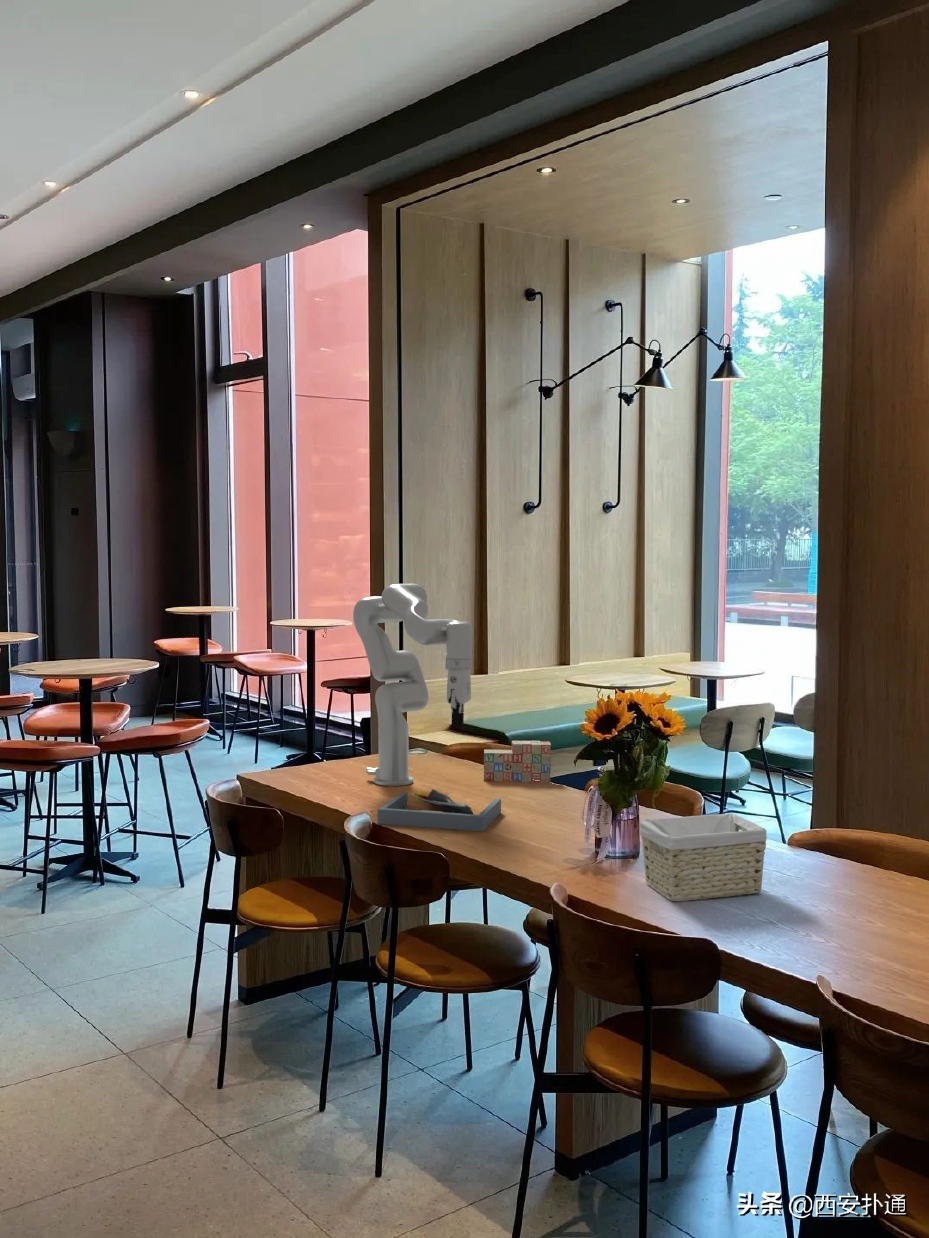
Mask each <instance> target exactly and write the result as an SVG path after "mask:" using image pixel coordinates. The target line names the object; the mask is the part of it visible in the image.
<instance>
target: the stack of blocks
mask: <svg viewBox="0 0 929 1238" xmlns="http://www.w3.org/2000/svg"><path fill="white" fill-rule="evenodd" d="M551 748H552V744H551V741H543V740H542V741H541V740H512V741H511V749H484V750H483V782H507V783H509V782H512V783H513V782H514V783H515V782H520V783H521V782H523V783H524V782H525V783H527V782H529V783H541V782H540V781H545V782H544V783H551V765H552V764H551V763H552V753H551ZM533 779H534V780H533ZM535 780H540V781H535ZM532 781H533V782H532Z"/></svg>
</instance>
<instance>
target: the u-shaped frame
mask: <svg viewBox="0 0 929 1238" xmlns="http://www.w3.org/2000/svg"><path fill="white" fill-rule="evenodd" d="M408 796H409V794H408V792H406V791H402V792H400V793H399V794H397V795H396V796H394V797H392V799H390V800H389V801H387V802H386V803H385V804H384V805H382V806H380V807H379V808H378V809H377V825H389V826H390V825H391V826H399V827H400V826H401V827H403V826H404V827H413V828H414V827H417V828H430V829H440V828H446V829H445V830H454V829H457V830H456V831H467V830H468V831H467V832H469V831H470V832H471V831H472V832H484V831H485V830H486V829H487V828H488V827H489V826H491V824H492V823H493V822H494V821H495V820H496V818H498V816H500V815H501V814H502V798H497V797H496V798H494V799H493V800H492V801H491V802H490V803H489V804H488V805H487V806H486V807H485V808H484V809H483V810H482V811H480V813H479V814H474V813H473V814H460V813H453V812H444V811H440V810H439V811H437V810H436V811H435V810H424V809H423V810H422V809H421V810H417V809H415V810H414V809H406V808H407V807H408V805H409V803H408V801H409V800H408V799H409V797H408Z"/></svg>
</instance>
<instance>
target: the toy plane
mask: <svg viewBox="0 0 929 1238" xmlns="http://www.w3.org/2000/svg"><path fill="white" fill-rule="evenodd" d="M409 797H410V798H413V799H416V800H417V801H420V802H423V803H424V804H426V805H432V806H434V807H437V808H440V809H441V810H446V811H447V812H449V813H460V814H474V812H473V811H472V807H471V806H469V805H468V804H465V803H462V802H455V801H453V800H452V799H451V798H450V797H449V796H448V795H447V794H445V793H442V792H440V791H438V790H436V789H434V788H432V789H431V790H430V792H429V794H427V793H425V792H415V793H414V795H413V796H412V795H409Z"/></svg>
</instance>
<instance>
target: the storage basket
mask: <svg viewBox="0 0 929 1238" xmlns="http://www.w3.org/2000/svg"><path fill="white" fill-rule="evenodd" d="M639 821H640V822H639V827H640V828H639V829H640V830H639V834H640V835H639V836H640V837H641V840H642V853H643V856H644V858H643V866H644V872H645V882H646V885H647V886H649V887H650V888H652V889H653V890H655V891H656V892H657V893H658V894H660V895H662V897H665V899H667V900H669V901H672V902H687V901H697V900H707V899H713V898H714V899H716V898H729V897H734V896H742V895H751V894H752V895H753V894H759V893H761V892H762V884H763V873H764V872H763V871H764V863H765V861H764V860H765V859H764V858H765V854H766V853H765V851H766V850H767V849H766V847H767V842H766V841H767V830H766V828H765V827H762V826H760V825H759V824H756V823H755V822H753V821H750V820H748V819H746V818H744V817H742V816H739V815H736V814H734V813H732V812H731V813H721V814H720V813H719V814H702V815H692V816H691V815H690V816H680V817H678V816H677V817H676V816H675V817H674V816H673V817H660V818H657V817H655V818H643V819H641V820H639Z"/></svg>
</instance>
